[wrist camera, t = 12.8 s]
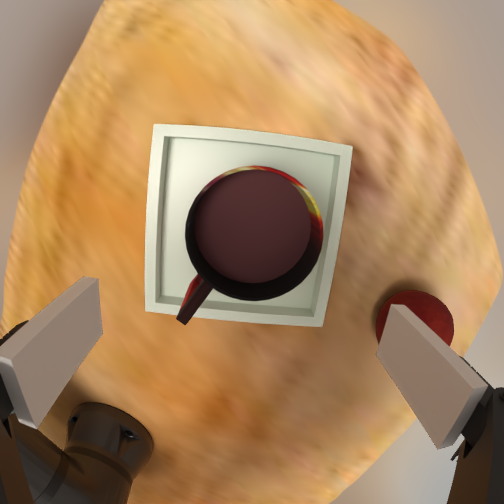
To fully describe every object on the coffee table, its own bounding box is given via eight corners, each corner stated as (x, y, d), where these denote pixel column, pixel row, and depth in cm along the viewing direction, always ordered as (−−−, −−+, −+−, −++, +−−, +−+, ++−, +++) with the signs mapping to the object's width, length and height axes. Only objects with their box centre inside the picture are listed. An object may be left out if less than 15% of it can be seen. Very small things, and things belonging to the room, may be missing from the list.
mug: (191, 282, 35) (170, 336, 23) (213, 158, 31) (197, 153, 20) (275, 297, 36) (290, 356, 24) (303, 177, 32) (337, 183, 21)
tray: (151, 300, 36) (145, 310, 33) (161, 127, 31) (153, 124, 28) (316, 315, 37) (322, 326, 35) (343, 147, 32) (352, 146, 29)
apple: (390, 352, 40) (421, 395, 30) (348, 319, 38) (377, 363, 28) (435, 303, 38) (475, 336, 28) (398, 263, 36) (441, 292, 27)
